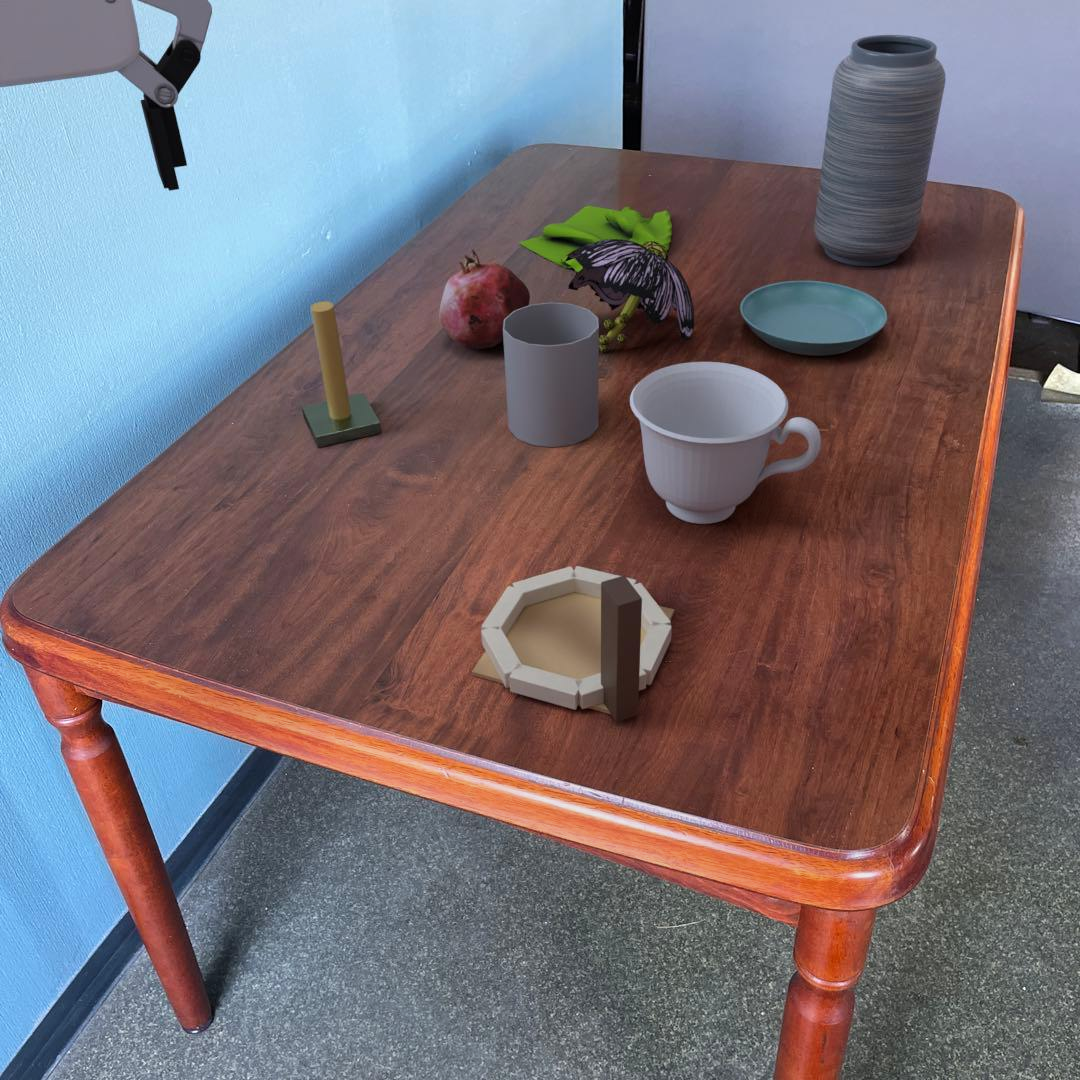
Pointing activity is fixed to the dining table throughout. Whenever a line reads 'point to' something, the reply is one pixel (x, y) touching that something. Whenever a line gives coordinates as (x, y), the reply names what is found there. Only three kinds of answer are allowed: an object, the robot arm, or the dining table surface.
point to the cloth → (598, 232)
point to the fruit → (480, 302)
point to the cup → (552, 373)
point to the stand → (336, 389)
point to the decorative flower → (633, 284)
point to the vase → (878, 148)
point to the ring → (620, 641)
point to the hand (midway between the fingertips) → (72, 197)
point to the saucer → (812, 316)
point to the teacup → (713, 436)
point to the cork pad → (558, 639)
